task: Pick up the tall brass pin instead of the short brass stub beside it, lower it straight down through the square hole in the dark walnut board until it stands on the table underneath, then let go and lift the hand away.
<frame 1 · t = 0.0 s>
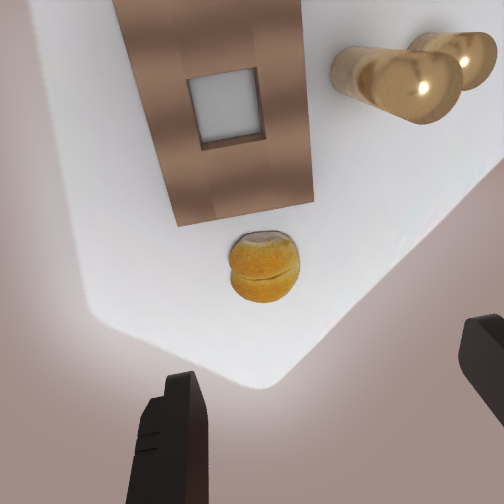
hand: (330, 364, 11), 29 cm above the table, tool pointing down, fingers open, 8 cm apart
hole board: (226, 105, 34), on the table
bread roll: (262, 260, 44), on the table
short pin: (424, 58, 34), on the table
tall pin: (351, 71, 34), on the table
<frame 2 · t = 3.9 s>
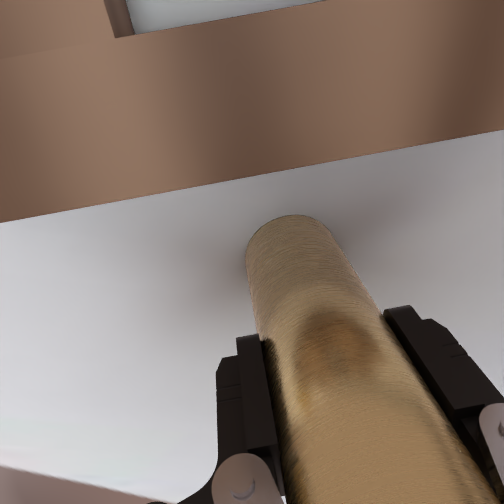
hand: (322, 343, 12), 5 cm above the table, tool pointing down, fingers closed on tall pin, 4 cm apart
tall pin: (290, 256, 16), on the table, touching gripper
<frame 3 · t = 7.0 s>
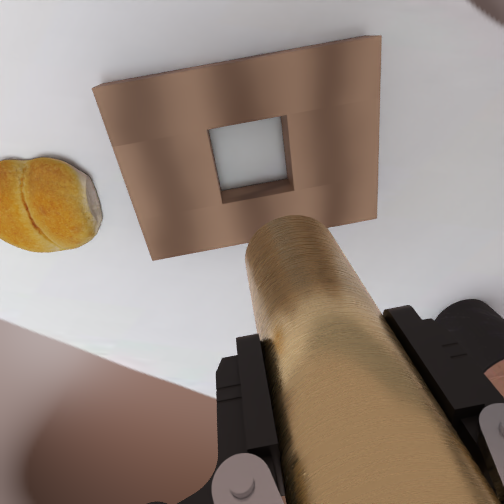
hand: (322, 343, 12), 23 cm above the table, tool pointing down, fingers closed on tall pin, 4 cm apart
travel mug: (459, 321, 44), on the table
hole board: (249, 151, 31), on the table
bread roll: (50, 199, 32), on the table
tall pin: (290, 256, 16), point 17 cm above the table, touching gripper
when the fingers open (6 cm above the table, at t = 10.3 s): tall pin stays where it is, resting in hole board.
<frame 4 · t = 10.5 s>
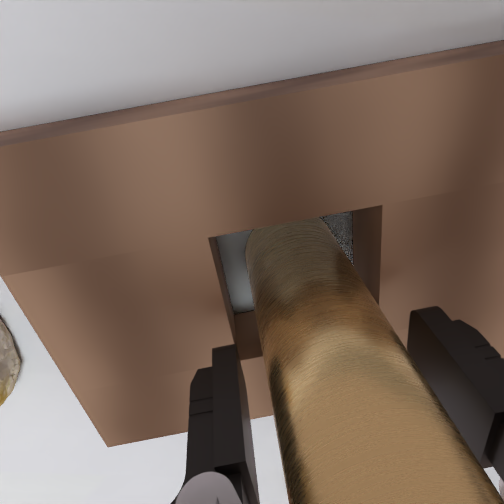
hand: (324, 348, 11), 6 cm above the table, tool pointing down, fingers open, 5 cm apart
hole board: (287, 251, 16), on the table
tall pin: (289, 250, 16), resting in hole board
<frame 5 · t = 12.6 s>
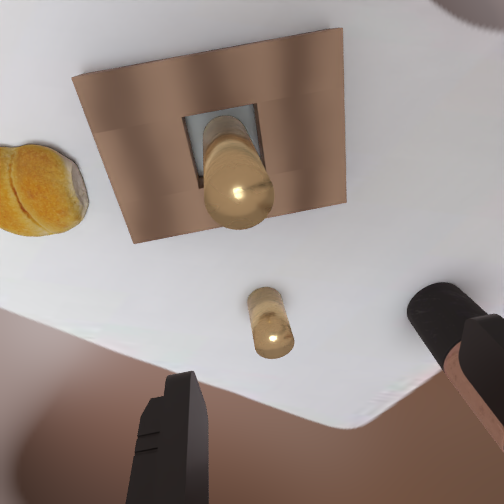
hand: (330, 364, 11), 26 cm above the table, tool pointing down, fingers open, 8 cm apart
travel mug: (433, 304, 46), on the table
hole board: (224, 139, 33), on the table
bread roll: (38, 185, 33), on the table
short pin: (264, 301, 43), on the table
tall pin: (225, 139, 33), resting in hole board
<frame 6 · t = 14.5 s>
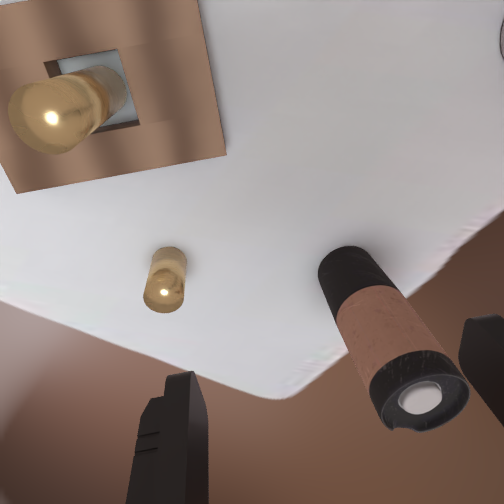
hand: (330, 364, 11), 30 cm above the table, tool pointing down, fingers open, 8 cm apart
travel mug: (344, 269, 47), on the table
hole board: (102, 90, 33), on the table
short pin: (169, 261, 43), on the table
tall pin: (103, 90, 33), resting in hole board
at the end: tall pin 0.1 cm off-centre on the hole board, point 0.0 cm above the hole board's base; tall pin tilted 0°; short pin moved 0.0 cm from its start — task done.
